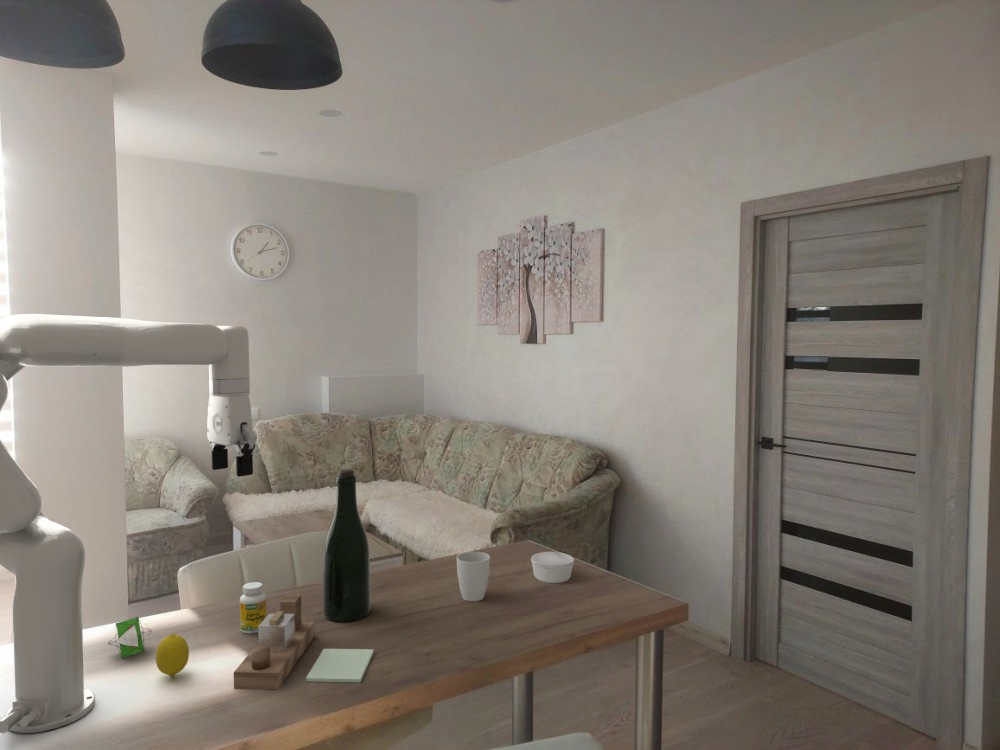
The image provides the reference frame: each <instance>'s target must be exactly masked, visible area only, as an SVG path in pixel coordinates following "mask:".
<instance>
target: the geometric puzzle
mask: <svg viewBox="0 0 1000 750" xmlns="http://www.w3.org/2000/svg"><path fill="white" fill-rule="evenodd" d="M141 621H142V622H143V620H141V619H140V616H136V617H134V618H130V619H127V620H126V619H125V620H123V621H120V622H115V626H114V629H116V633H115V635H114V636H113V638H116V637H118V639H116V640H115V641H113V642H112V641H108V643H107V644H108V645H109V646H115V647H117V650H118V651H120V653H119V654H120V655H119V654H118V652H116V651H115V650H114V652H116V654H117V655H118V656H120V658H121V659H123V657H124V658H127V657H129V655H130V656H133V655H135V654H134V653H136V654H138V653H137V652H139V653H142V652H145V650H146V648H145V647H144V642H145V639H146V638H145V634H146V633H148V636H149V637H148V638H150V636H151V633H152V630H151V629H149V628H148V629H147V628H145V627H143V626H142V623H141ZM143 623H144V622H143ZM144 625H146V624H145V623H144ZM146 626H147V625H146ZM147 627H148V626H147ZM144 629H145V630H147V631H144ZM141 630H142V631H141ZM113 633H114V632H113V631H112V632H111V634H113ZM142 635H143V637H142ZM114 643H115V644H116V645H115V644H114ZM118 644H119V646H118ZM141 651H142V652H141ZM132 654H133V655H132ZM126 656H127V657H126Z"/></svg>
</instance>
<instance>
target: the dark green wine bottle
mask: <svg viewBox="0 0 1000 750" xmlns="http://www.w3.org/2000/svg"><path fill="white" fill-rule="evenodd" d="M335 483H336V500H335V501H336V504H335V510H334V515H333V518H332V520H331V523H330V526H329V529H328V530H327V534H326V537H325V540H324V542H325V543H324V548H323V550H324V551H323V580H322V581H323V582H322V583H323V584H322V587H323V588H322V594H323V595H322V607H323V610H322V611H323V612H322V613H323V615H324V616H325V618H327V619H329V620H331V621H335V622H352V621H353V622H354V621H357V620H360V619H362V618H364V617H366V616H367V615H368V614H369V613H370V611H371V568H370V567H371V565H370V563H371V562H370V544H369V539H368V534H367V531H366V529H365V526H364V525H363V521H362V518H361V516H360V512H359V508H358V501H357V500H358V499H357V476H356V475H355V469H351V468H344V469H339V470H338V475H337V476H336V481H335Z"/></svg>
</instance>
